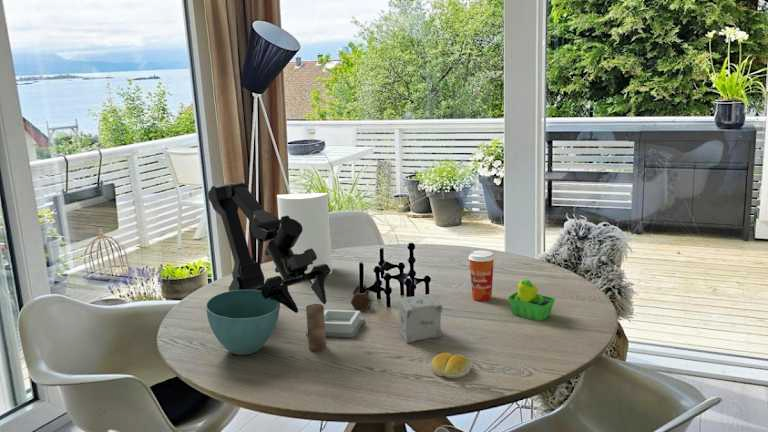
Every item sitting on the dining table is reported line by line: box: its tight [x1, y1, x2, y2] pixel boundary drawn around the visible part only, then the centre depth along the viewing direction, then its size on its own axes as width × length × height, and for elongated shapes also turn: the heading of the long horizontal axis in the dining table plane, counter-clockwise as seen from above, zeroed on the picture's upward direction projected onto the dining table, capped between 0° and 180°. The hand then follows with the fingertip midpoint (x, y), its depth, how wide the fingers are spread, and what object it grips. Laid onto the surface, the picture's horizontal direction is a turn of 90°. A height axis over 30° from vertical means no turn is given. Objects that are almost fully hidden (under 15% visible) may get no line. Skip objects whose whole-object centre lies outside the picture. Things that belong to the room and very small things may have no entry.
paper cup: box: [468, 250, 496, 303], centre depth 204 cm, size 8×8×14 cm
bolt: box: [350, 283, 372, 311], centre depth 207 cm, size 6×5×15 cm
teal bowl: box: [205, 290, 281, 356], centre depth 173 cm, size 18×18×12 cm
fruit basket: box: [507, 278, 556, 322], centre depth 189 cm, size 11×9×11 cm
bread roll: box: [430, 352, 472, 379], centre depth 158 cm, size 8×9×4 cm
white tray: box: [305, 309, 365, 338], centre depth 186 cm, size 13×12×4 cm
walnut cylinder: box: [305, 303, 327, 352], centre depth 173 cm, size 4×4×11 cm
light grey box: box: [397, 293, 443, 344], centre depth 177 cm, size 10×8×10 cm
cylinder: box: [276, 192, 333, 276], centre depth 236 cm, size 17×17×28 cm
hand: (311, 307), depth 173 cm, fingers open, 8 cm apart
